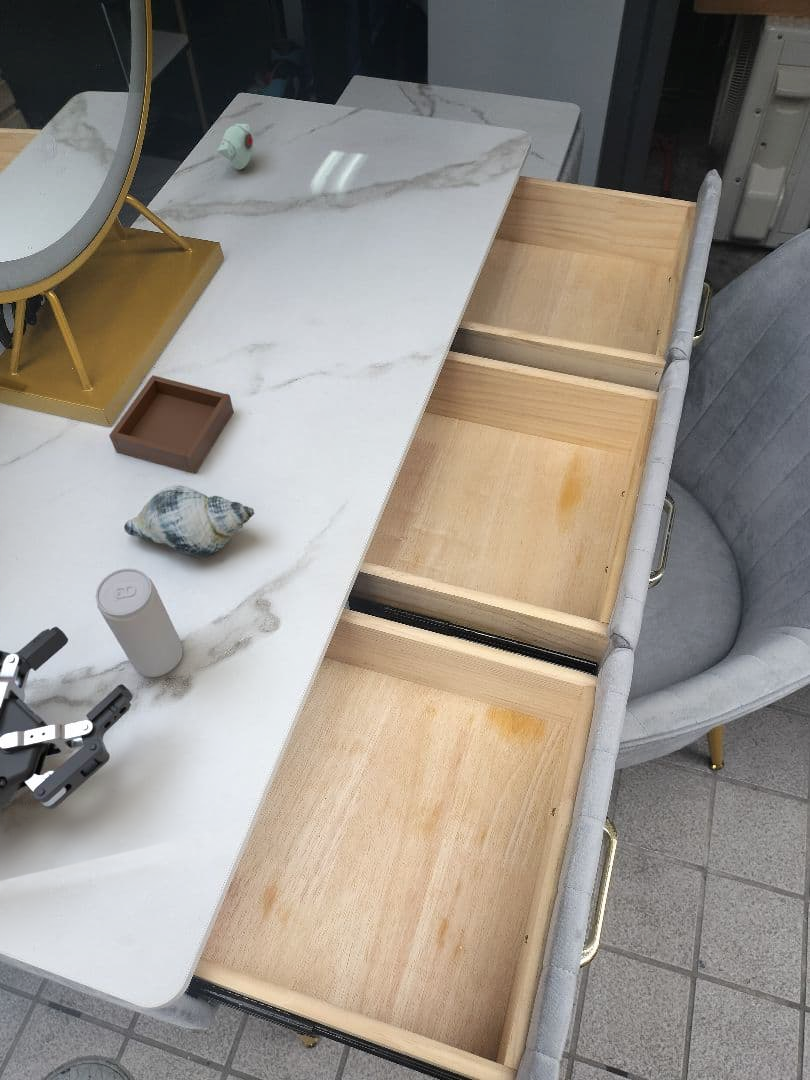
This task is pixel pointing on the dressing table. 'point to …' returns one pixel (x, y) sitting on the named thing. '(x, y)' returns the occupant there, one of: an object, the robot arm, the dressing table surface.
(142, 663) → the beverage can
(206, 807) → the dressing table surface
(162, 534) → the seashell
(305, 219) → the dressing table surface
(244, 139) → the robot head
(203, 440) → the tray
